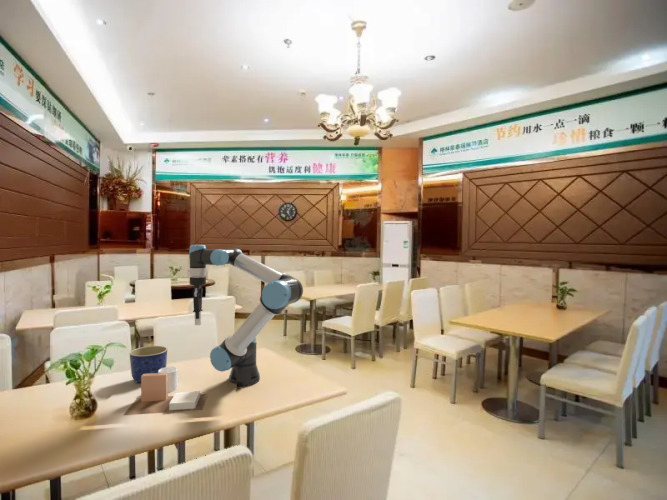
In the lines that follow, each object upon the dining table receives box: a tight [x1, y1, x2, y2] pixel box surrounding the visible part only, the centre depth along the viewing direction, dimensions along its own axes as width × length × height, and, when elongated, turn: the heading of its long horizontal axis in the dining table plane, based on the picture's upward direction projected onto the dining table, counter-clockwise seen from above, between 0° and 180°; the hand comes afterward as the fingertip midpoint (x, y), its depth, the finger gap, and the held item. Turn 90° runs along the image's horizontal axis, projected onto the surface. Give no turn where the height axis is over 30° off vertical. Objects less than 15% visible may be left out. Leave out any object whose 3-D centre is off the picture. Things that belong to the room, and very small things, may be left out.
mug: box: [158, 366, 179, 393], centre depth 173 cm, size 12×8×10 cm
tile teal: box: [169, 390, 201, 411], centre depth 158 cm, size 10×3×11 cm
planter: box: [129, 345, 168, 384], centre depth 187 cm, size 17×17×15 cm
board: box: [123, 393, 209, 416], centre depth 159 cm, size 30×16×1 cm, turn 100°
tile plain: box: [140, 373, 169, 402], centre depth 163 cm, size 10×3×11 cm, turn 100°
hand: (197, 324), depth 182 cm, fingers closed
